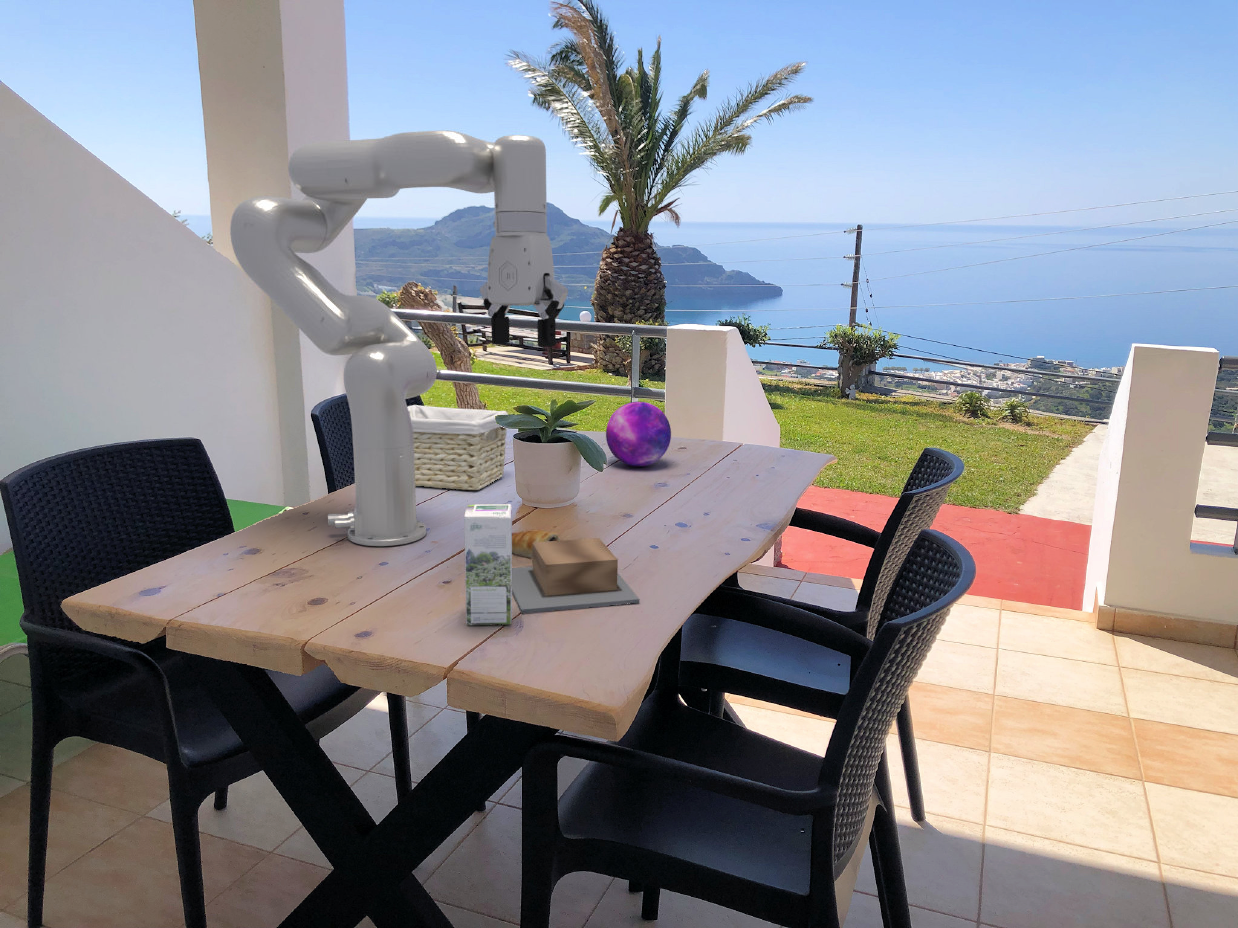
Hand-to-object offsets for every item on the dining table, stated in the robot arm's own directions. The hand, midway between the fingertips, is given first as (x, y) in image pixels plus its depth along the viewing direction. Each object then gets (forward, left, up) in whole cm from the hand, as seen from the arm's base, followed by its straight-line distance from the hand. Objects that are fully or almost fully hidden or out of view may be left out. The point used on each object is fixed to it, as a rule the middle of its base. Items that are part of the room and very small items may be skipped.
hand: (523, 344), depth 127 cm
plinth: (+4, -16, -33) cm, 36 cm away
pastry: (+1, 0, -33) cm, 33 cm away
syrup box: (-9, -25, -33) cm, 42 cm away
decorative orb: (+36, +56, -33) cm, 75 cm away
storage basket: (-8, +50, -33) cm, 61 cm away
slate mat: (+3, -17, -33) cm, 37 cm away
